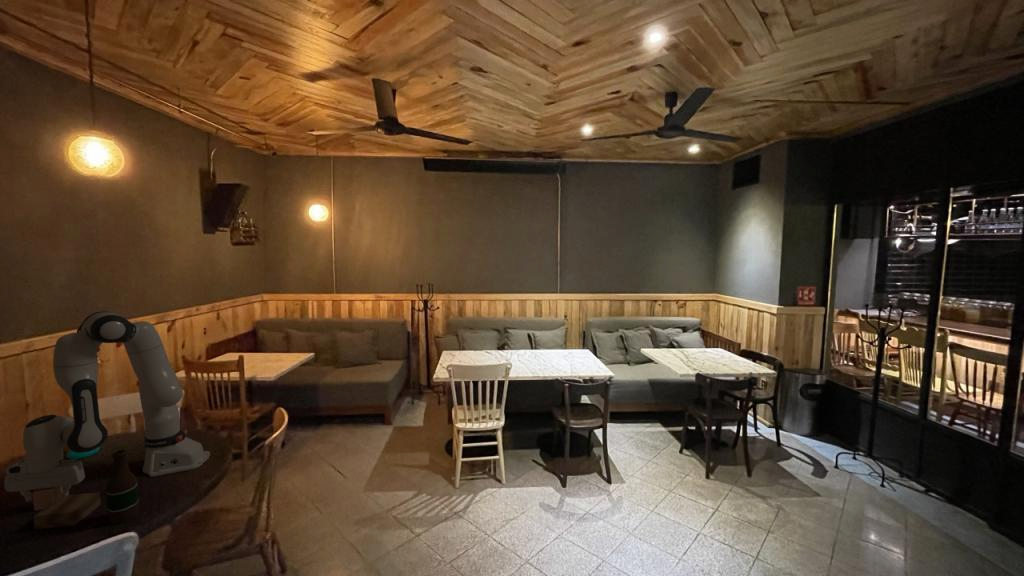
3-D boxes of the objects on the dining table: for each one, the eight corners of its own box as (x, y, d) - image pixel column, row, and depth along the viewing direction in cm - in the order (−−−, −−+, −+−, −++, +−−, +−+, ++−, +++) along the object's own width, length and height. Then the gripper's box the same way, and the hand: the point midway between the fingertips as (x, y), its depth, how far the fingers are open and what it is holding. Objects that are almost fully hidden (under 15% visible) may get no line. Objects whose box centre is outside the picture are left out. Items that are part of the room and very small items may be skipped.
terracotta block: (63, 499, 145) (62, 481, 144) (52, 508, 140) (51, 490, 140) (46, 501, 144) (44, 483, 143) (34, 510, 139) (32, 492, 138)
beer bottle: (122, 509, 141) (117, 446, 138) (145, 509, 141) (141, 445, 139) (101, 525, 133) (96, 457, 131) (126, 524, 134) (121, 457, 131)
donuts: (101, 431, 176) (68, 440, 167) (102, 453, 177) (70, 463, 168) (94, 426, 181) (62, 434, 173) (96, 446, 182) (64, 455, 174)
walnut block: (100, 505, 143) (99, 492, 143) (75, 526, 133) (73, 512, 132) (63, 508, 141) (62, 495, 140) (34, 530, 130) (33, 516, 130)
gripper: (88, 454, 146) (90, 489, 148) (15, 460, 140) (18, 497, 142) (75, 462, 140) (77, 499, 142) (-2, 470, 134) (2, 508, 136)
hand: (47, 498), depth 142 cm, fingers open, 8 cm apart
